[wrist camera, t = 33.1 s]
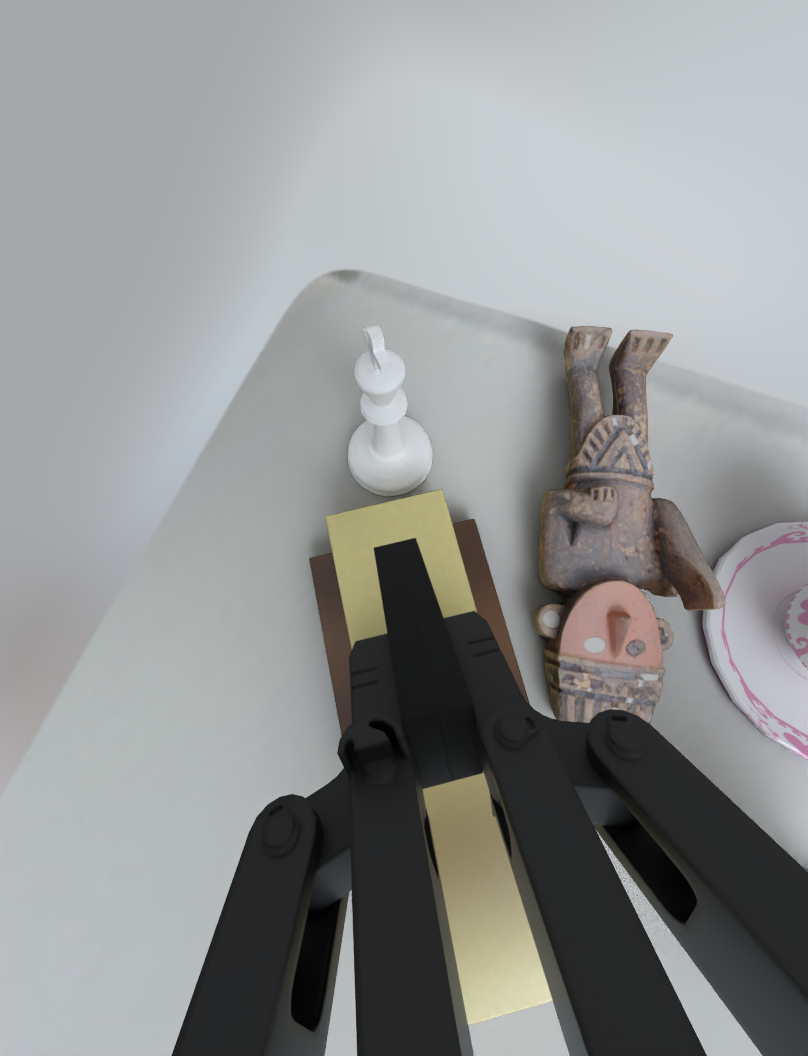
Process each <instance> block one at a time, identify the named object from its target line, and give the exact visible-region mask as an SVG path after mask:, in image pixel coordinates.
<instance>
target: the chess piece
mask: <svg viewBox="0 0 808 1056" xmlns="http://www.w3.org/2000/svg"><path fill="white" fill-rule="evenodd" d="M362 334H363V338H364V340H365V342H366V344H367V346H368V348H369V350H368V351H366V352H364V353H363V354H362V355H361V356H360V357H359V358H358V359H357V361H356V363H355V366H354V377H355V380H356V382H357V384H358V386H359V387H360V388H361V389H362V390H363V394H362V397H361V400H360V410H361V413H362V415H363V416H364V418H365V419H366V420H367V421H365V422H364V423H362V424H361V425H360V426H359V427H358V428H357V429H356V431H355V432H354V434H353V435H352V437H351V440H350V443H349V447H348V463H349V468H350V471H351V473H352V475H353V477H354V478H355V480H356V481H357V482H358V483H359V484H360V485H361V486H362V487H363V488H365V489H366V490H368V491H370V492H372V493H375V494H378V495H383V496H397V495H401V494H405V493H407V492H410V491H411V490H413V489H415V488H416V487H417V486H419V485H420V484H421V483H422V482H423V481H424V479H425V478H426V477H427V475H428V473H429V471H430V469H431V465H432V460H433V452H432V447H431V442H430V439H429V437H428V435H427V433H426V432H425V430H424V429H423V428H422V427H421V426H420V425H419V424H418V423H417V422H416V421H414V420H413V419H411V418H409V417H406V416H404V415H405V413H406V411H407V406H408V402H407V398H406V395H405V393H404V392H403V390H402V389H401V388H400V387H401V385H402V383H403V380H404V377H405V365H404V362H403V360H402V358H401V357H400V356H399V355H398V354H397V353H395V352H394V351H392V350H390V349H386V348H385V346H384V336H383V333H382V331H381V329H380V327H379V325H377V326H375V327H374V326H373V325H371V326H368V327H366V328H363V329H362Z"/></svg>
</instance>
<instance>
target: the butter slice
mask: <svg viewBox="0 0 808 1056" xmlns="http://www.w3.org/2000/svg"><path fill="white" fill-rule="evenodd" d="M326 522H327V528H328V533H329V538H330V543H331V548H332V553H333V558H334V563H335V568H336V573H337V578H338V583H339V588H340V593H341V598H342V603H343V608H344V613H345V618H346V623H347V628H348V633H349V638H350V643H351V648H352V649H353V646H354V644H355V641H358V640H362V639H366V638H371V637H375V636H379V635H383V634H387V628H386V622H385V616H384V610H383V603H382V597H381V591H380V585H379V579H378V573H377V566H376V560H375V554H374V547H379V546H383V545H387V544H391V543H395V542H400V541H404V540H408V539H412V538H416V540H417V543H418V546H419V548H420V551H421V554H422V557H423V560H424V563H425V566H426V569H427V572H428V574H429V577H430V580H431V583H432V586H433V589H434V592H435V595H436V598H437V600H438V603H439V606H440V609H441V612H442V615H443V618H447V617H451V616H455V615H459V614H463V613H467V612H471V611H475V612H477V610H476V607H475V603H474V600H473V596H472V593H471V589H470V585H469V582H468V578H467V575H466V571H465V568H464V564H463V561H462V557H461V553H460V550H459V546H458V543H457V539H456V536H455V532H454V529H453V525H452V521H451V518H450V514H449V511H448V507H447V504H446V500H445V497H444V493H443V490H442V489H440V490H436V491H431V492H427V493H423V494H419V495H414V496H410V497H406V498H402V499H397V500H393V501H389V502H385V503H380V504H376V505H372V506H368V507H363V508H359V509H355V510H351V511H346V512H342V513H338V514H334V515H329V516H326Z"/></svg>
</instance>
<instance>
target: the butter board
mask: <svg viewBox="0 0 808 1056" xmlns="http://www.w3.org/2000/svg"><path fill="white" fill-rule="evenodd" d="M452 525H453V529H454V532H455V536H456V539H457V543H458V546H459V550H460V553H461V557H462V561H463V564H464V568H465V571H466V575H467V578H468V582H469V585H470V589H471V593H472V596H473V600H474V603H475V607H476V610H477V613H478V614H479V615H480V616H481V617H483V618H484V619H485V620H486V621H487V622H488V624H489V626H490V628H491V630H492V632H493V634H494V637H495V639H496V641H497V643H498V645H499V647H500V650H501V651H502V653H503V655H504V657H505V659H506V661H507V664H508V666H509V668H510V670H511V672H512V674H513V676H514V678H515V680H516V682H517V684H518V687H519V689H520V691H521V693H522V695H523V697H524V698H525V700H526V701H527V703H528V704H529V701H528V697H527V694H526V691H525V687H524V684H523V680H522V677H521V674H520V670H519V667H518V664H517V660H516V657H515V653H514V650H513V647H512V643H511V640H510V637H509V633H508V630H507V627H506V623H505V620H504V616H503V613H502V610H501V606H500V603H499V600H498V596H497V593H496V590H495V586H494V583H493V579H492V576H491V573H490V569H489V566H488V563H487V559H486V556H485V552H484V549H483V546H482V542H481V539H480V536H479V532H478V529H477V526H476V522H475V520H474V519H470V520H466V521H462V522H458V523H453V524H452ZM309 560H310V566H311V571H312V577H313V582H314V588H315V593H316V598H317V604H318V609H319V615H320V620H321V626H322V631H323V636H324V642H325V647H326V653H327V658H328V664H329V669H330V675H331V680H332V685H333V691H334V696H335V702H336V707H337V713H338V718H339V724H340V729H341V734H342V735H343V734H344V732H345V730H346V728H348V727H349V726H350V725H351V724H352V715H351V692H350V690H351V687H350V669H349V656H350V653H351V651H352V648H351V643H350V638H349V633H348V628H347V623H346V618H345V613H344V608H343V603H342V598H341V593H340V588H339V583H338V578H337V573H336V568H335V563H334V558H333V553H328V554H324V555H320V556H316V557H311V558H310V559H309ZM529 705H530V704H529ZM423 794H424V800H425V805H426V809H427V812H428V816H429V819H430V825H431V830H432V835H433V841H434V846H435V851H436V857H437V862H438V867H439V873H440V878H441V883H442V889H443V894H444V899H445V905H446V910H447V915H448V921H449V926H450V931H451V937H452V942H453V947H454V953H455V958H456V963H457V969H458V974H459V980H460V985H461V990H462V996H463V1001H464V1006H465V1012H466V1017H467V1022H468V1026H469V1025H472V1024H476V1023H479V1022H483V1021H486V1020H490V1019H493V1018H496V1017H500V1016H503V1015H507V1014H510V1013H514V1012H517V1011H520V1010H524V1009H527V1008H531V1007H534V1006H537V1005H541V1004H544V1003H548V1002H551V1001H553V1000H552V997H551V993H550V990H549V987H548V984H547V981H546V977H545V974H544V971H543V968H542V964H541V961H540V958H539V955H538V952H537V948H536V945H535V942H534V939H533V936H532V932H531V929H530V926H529V923H528V919H527V916H526V913H525V910H524V907H523V903H522V900H521V897H520V894H519V891H518V887H517V884H516V881H515V878H514V874H513V871H512V868H511V865H510V862H509V858H508V855H507V852H506V849H505V846H504V842H503V839H502V836H501V833H500V829H499V826H498V823H497V820H496V817H493V814H492V807H491V800H490V792H489V788H488V784H487V781H486V778H485V775H484V772H483V773H482V774H478V775H474V776H471V777H467V778H463V779H459V780H455V781H452V782H448V783H444V784H440V785H437V786H433V787H429V788H425V789H423Z"/></svg>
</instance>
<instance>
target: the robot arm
mask: <svg viewBox="0 0 808 1056" xmlns="http://www.w3.org/2000/svg"><path fill="white" fill-rule="evenodd" d="M374 554H375V560H376V566H377V573H378V579H379V585H380V591H381V597H382V603H383V610H384V616H385V622H386V628H387V634H383V635H379V636H375V637H371V638H366V639H362V640H358V641H355V644H354V646H353V649H352V651H351V653H350V656H349V669H350V687H351V690H350V692H351V715H352V724H351V725H350V726H349V727H348V728H346V730H345V732H344V734H343V735H342V737H341V739H340V742H339V747H338V753H337V754H338V756H339V758H340V760H341V762H342V764H343V766H344V769H343V770H342V771H341V772H340V774H339V775H338V776H337V777H336V778H335V779H333V780H332V781H331V782H330V783H328V784H327V785H325V786H324V787H322V788H321V789H319V790H318V791H316V792H315V793H313V794H312V795H310V796H308V797H307V798H304V797H302V796H298V795H294V794H291V795H286V796H282V797H279V798H278V799H276V800H274V801H273V802H271V803H270V804H268V805H267V806H266V807H265V808H264V809H263V811H262V812H261V813H260V814H259V815H258V816H257V818H256V820H255V822H254V824H253V826H252V828H251V830H250V832H249V834H248V837H247V840H246V843H245V846H244V849H243V852H242V854H241V857H240V860H239V863H238V866H237V869H236V872H235V875H234V878H233V880H232V883H231V886H230V889H229V892H228V895H227V898H226V901H225V903H224V906H223V909H222V912H221V915H220V918H219V921H218V924H217V927H216V929H215V932H214V935H213V938H212V941H211V944H210V947H209V950H208V952H207V955H206V958H205V961H204V964H203V967H202V970H201V973H200V976H199V978H198V981H197V984H196V987H195V990H194V993H193V996H192V999H191V1001H190V1004H189V1007H188V1010H187V1013H186V1016H185V1019H184V1022H183V1025H182V1027H181V1030H180V1033H179V1036H178V1039H177V1042H176V1045H175V1048H174V1050H173V1053H172V1056H324V1055H325V1048H326V1042H327V1035H328V1028H329V1022H330V1015H331V1008H332V1002H333V995H334V988H335V982H336V975H337V969H338V962H339V955H340V949H341V942H342V935H343V929H344V922H345V915H346V909H347V902H348V896H349V891H351V890H352V909H353V940H354V970H355V1000H356V1030H357V1056H474V1054H473V1049H472V1044H471V1038H470V1033H469V1028H468V1022H467V1017H466V1012H465V1006H464V1001H463V996H462V990H461V985H460V980H459V974H458V969H457V963H456V958H455V953H454V947H453V942H452V937H451V931H450V926H449V921H448V915H447V910H446V905H445V899H444V894H443V889H442V883H441V878H440V873H439V867H438V862H437V857H436V851H435V846H434V841H433V835H432V830H431V825H430V819H429V816H428V812H427V809H426V805H425V800H424V794H423V789H425V788H429V787H433V786H437V785H440V784H444V783H448V782H452V781H455V780H459V779H463V778H467V777H471V776H474V775H478V774H482V773H483V772H484V775H485V778H486V781H487V784H488V788H489V792H490V800H491V807H492V814H493V817H496V820H497V823H498V826H499V829H500V833H501V836H502V839H503V842H504V846H505V849H506V852H507V855H508V858H509V862H510V865H511V868H512V871H513V874H514V878H515V881H516V884H517V887H518V891H519V894H520V897H521V900H522V903H523V907H524V910H525V913H526V916H527V919H528V923H529V926H530V929H531V932H532V936H533V939H534V942H535V945H536V948H537V952H538V955H539V958H540V961H541V964H542V968H543V971H544V974H545V977H546V981H547V984H548V987H549V990H550V993H551V997H552V1000H553V1003H554V1006H555V1009H556V1013H557V1016H558V1019H559V1022H560V1025H561V1029H562V1032H563V1035H564V1038H565V1042H566V1045H567V1048H568V1051H569V1054H570V1056H707V1055H706V1053H705V1051H704V1049H703V1047H702V1045H701V1043H700V1041H699V1039H698V1037H697V1035H696V1033H695V1031H694V1029H693V1027H692V1025H691V1023H690V1021H689V1019H688V1017H687V1015H686V1012H685V1010H684V1008H683V1006H682V1004H681V1002H680V1000H679V998H678V996H677V994H676V992H675V990H674V988H673V986H672V984H671V982H670V980H669V978H668V976H667V974H666V972H665V970H664V968H663V966H662V964H661V962H660V960H659V958H658V956H657V954H656V952H655V950H654V948H653V945H652V943H651V941H650V939H649V937H648V935H647V933H646V931H645V929H644V927H643V925H642V923H641V921H640V919H639V917H638V915H637V913H636V911H635V909H634V907H633V905H632V903H631V901H630V899H629V897H628V895H627V893H626V891H625V889H624V887H623V885H622V883H621V880H620V878H619V876H618V874H617V872H616V870H615V868H614V866H613V864H612V862H611V860H610V858H609V856H608V854H607V852H606V850H605V848H604V846H603V844H602V842H601V840H600V838H599V836H598V834H597V832H598V833H599V834H600V836H601V837H602V838H603V840H604V841H605V842H606V844H607V845H608V846H609V848H610V849H611V851H612V852H613V853H614V855H615V856H616V857H617V859H618V860H619V861H620V863H621V864H622V865H623V867H624V868H625V870H626V871H627V872H628V874H629V875H630V876H631V878H632V879H633V880H634V882H635V883H636V884H637V886H638V887H639V889H640V890H641V891H642V893H643V894H644V895H645V897H646V898H647V899H648V901H649V902H650V903H651V905H652V906H653V907H654V909H655V910H656V912H657V913H658V914H659V916H660V917H661V918H662V920H663V921H664V922H665V924H666V925H667V926H668V928H669V929H670V931H671V932H672V933H673V935H674V936H675V937H676V939H677V940H678V941H679V943H680V944H681V945H682V947H683V948H684V950H685V951H686V952H687V954H688V955H689V956H690V958H691V959H692V960H693V962H694V963H695V964H696V966H697V967H698V968H699V970H700V971H701V973H702V974H703V975H704V977H705V978H706V979H707V981H708V982H709V983H710V985H711V986H712V987H713V989H714V990H715V992H716V993H717V994H718V996H719V997H720V998H721V1000H722V1001H723V1002H724V1004H725V1005H726V1006H727V1008H728V1009H729V1010H730V1012H731V1013H732V1015H733V1016H734V1017H735V1019H736V1020H737V1021H738V1023H739V1024H740V1025H741V1027H742V1028H743V1029H744V1031H745V1032H746V1034H747V1035H748V1036H749V1038H750V1039H751V1040H752V1042H753V1043H754V1044H755V1046H756V1047H757V1048H758V1050H759V1051H760V1053H761V1054H762V1055H763V1056H808V872H807V871H806V870H805V869H804V868H803V867H802V866H801V865H800V864H798V863H797V862H796V861H795V860H794V859H793V858H792V857H791V856H790V855H789V854H788V853H787V852H786V851H785V850H784V849H782V848H781V847H780V846H779V845H778V844H777V843H776V842H775V841H774V840H773V839H772V838H771V837H770V836H769V835H768V834H766V833H765V832H764V831H763V830H762V829H761V828H760V827H759V826H758V825H757V824H756V823H755V822H754V821H753V820H752V819H750V818H749V817H748V816H747V815H746V814H745V813H744V812H743V811H742V810H741V809H740V808H739V807H738V806H737V805H736V804H734V803H733V802H732V801H731V800H730V799H729V798H728V797H727V796H726V795H725V794H724V793H723V792H722V791H721V790H720V789H718V788H717V787H716V786H715V785H714V784H713V783H712V782H711V781H710V780H709V779H708V778H707V777H706V776H705V775H704V774H702V773H701V772H700V771H699V770H698V769H697V768H696V767H695V766H694V765H693V764H692V763H691V762H690V761H689V760H688V759H686V758H685V757H684V756H683V755H682V754H681V753H680V752H679V751H678V750H677V749H676V748H675V747H674V746H673V745H672V744H670V743H669V742H668V741H667V740H666V739H665V738H664V737H663V736H662V735H661V734H660V733H659V732H658V731H657V730H656V729H654V728H653V727H652V726H651V725H650V724H649V723H647V722H646V721H645V720H643V719H642V718H640V717H639V716H638V715H635V714H632V713H630V712H627V711H624V710H613V709H609V710H606V711H602V712H599V713H597V714H596V715H595V716H594V717H593V718H592V719H591V720H590V723H585V722H571V721H561V720H555V719H551V718H549V717H546V716H544V715H542V714H540V713H539V712H537V711H536V710H534V709H533V708H532V707H531V706H530V705H529V704H528V703H527V701H526V700H525V698H524V697H523V695H522V693H521V691H520V689H519V687H518V684H517V682H516V680H515V678H514V676H513V674H512V672H511V670H510V668H509V666H508V664H507V661H506V659H505V657H504V655H503V653H502V651H501V650H500V647H499V645H498V643H497V641H496V639H495V637H494V634H493V632H492V630H491V628H490V626H489V624H488V622H487V621H486V620H485V619H484V618H483V617H481V616H480V615H479V614H478V613H477V612H475V611H471V612H467V613H463V614H459V615H455V616H451V617H447V618H443V615H442V612H441V609H440V606H439V603H438V600H437V598H436V595H435V592H434V589H433V586H432V583H431V580H430V577H429V574H428V572H427V569H426V566H425V563H424V560H423V557H422V554H421V551H420V548H419V546H418V543H417V540H416V538H412V539H408V540H404V541H400V542H395V543H391V544H387V545H383V546H379V547H374ZM595 829H596V830H597V832H596V830H595Z"/></svg>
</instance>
